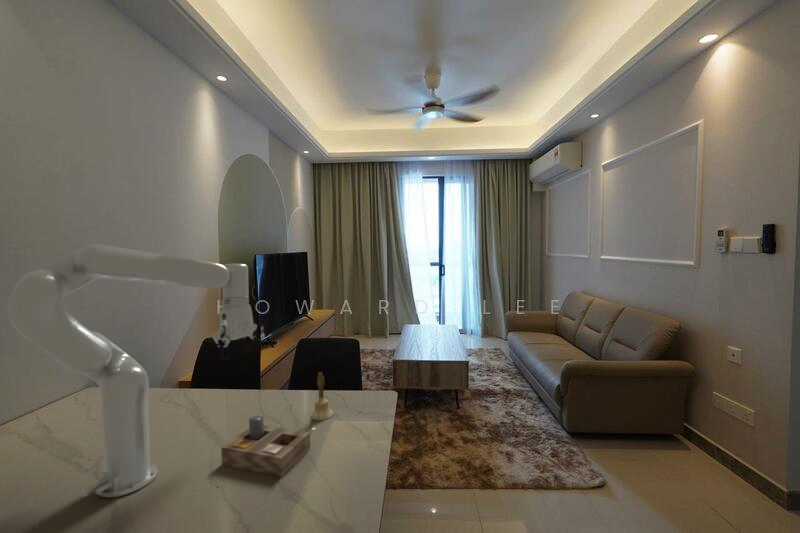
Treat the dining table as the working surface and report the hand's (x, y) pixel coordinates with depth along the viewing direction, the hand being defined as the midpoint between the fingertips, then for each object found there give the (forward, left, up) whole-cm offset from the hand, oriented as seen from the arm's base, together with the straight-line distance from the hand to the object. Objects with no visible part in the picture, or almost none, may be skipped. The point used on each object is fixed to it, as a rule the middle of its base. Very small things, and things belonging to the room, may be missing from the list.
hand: (236, 355), depth 111 cm
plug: (-4, -10, -27) cm, 29 cm away
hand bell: (+23, -17, -28) cm, 40 cm away
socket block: (-5, -15, -28) cm, 32 cm away
